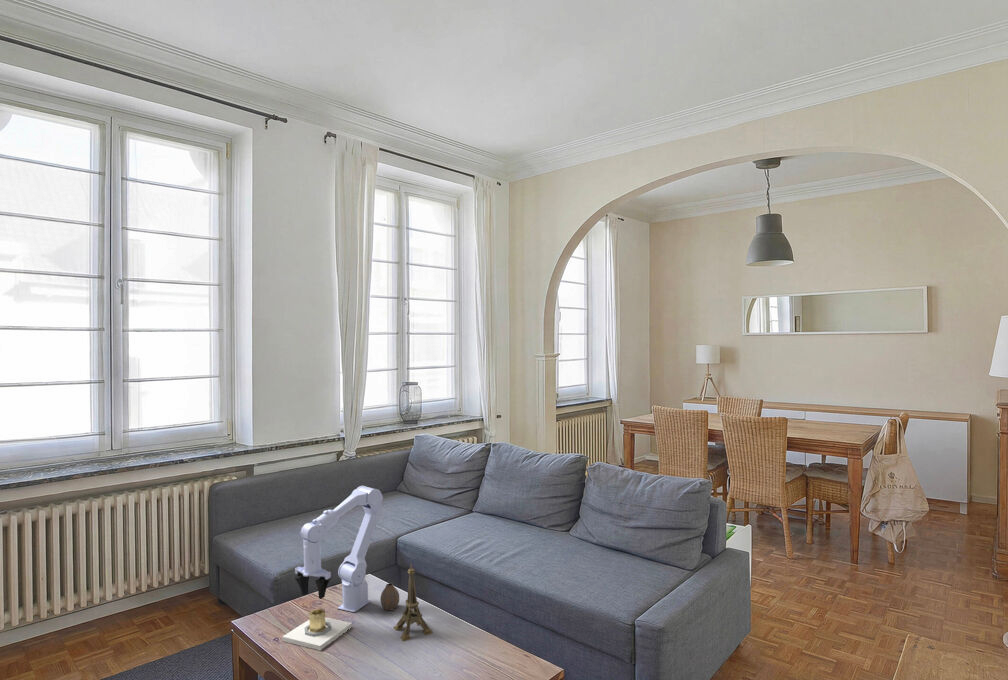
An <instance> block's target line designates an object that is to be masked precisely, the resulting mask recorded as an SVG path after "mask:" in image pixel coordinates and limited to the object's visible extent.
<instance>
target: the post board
mask: <svg viewBox="0 0 1008 680" xmlns="http://www.w3.org/2000/svg"><path fill="white" fill-rule="evenodd" d="M325 626H326V629H325V630H324V631H321V632H316V633H312V632H310V620H309V619H308V620H306V621H304V622H303V623H302V624H300V625H298V626H297V627H295V628H293V629H292V630H291V631H289V632H287V633H285V634H284V635H283V636H281V637H282V642H285V643H289V644H293V645H298V646H301V647H305V648H307V649H308V648H309V649H312V650H317V651H321V650H323V649H324V648H326V647H327V646H329V645H330V644H331V643H333V642H334V641H335V640H337V639H339V636H340V637H341V636H343V633H344V634H345V633H346V632H347V630H348V629H349V630H351V629H352V628H353V623H352V622H348V621H344V620H339V619H335V618H330V617H326V616H325ZM351 627H352V628H351ZM350 628H351V629H350ZM349 630H348V631H349ZM332 641H333V642H332Z"/></svg>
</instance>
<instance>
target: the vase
mask: <svg viewBox="0 0 1008 680" xmlns="http://www.w3.org/2000/svg"><path fill="white" fill-rule="evenodd" d="M380 594H381V595H380V605H381V607H382V608H383V609H384V610H385V611H393V609H394V610H395V609H396V608H397V607H398V606H399V604H400V593H399V590H398V589H397V588H396V587H395V586H394V584H393V583H391V582H389V583H387V584H386V585H385V587H384V588H383V590H382V592H381V593H380Z"/></svg>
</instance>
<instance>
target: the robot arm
mask: <svg viewBox="0 0 1008 680" xmlns="http://www.w3.org/2000/svg"><path fill="white" fill-rule="evenodd" d="M383 500H384V496H383V494H382V492H381V490H379V489H378V488H372V487H368V486H366V485H360V486H358V487H357V488H355V489H354V490H352V492H351V494H350V495H348V497H347V498H345V499H344V500H343V501H342V502H341V503H340V504H339V505H337V506H336V507H335V508H334V509H327V510H323V512H322V514H320V516H318V517H316V518H314V519H312V521H311V522H307V523H305V524H304V525H303V526H302V527H301V528H300V529H301V530H300V531H299V537H301V540H302V544H303V545H302V546H303V566H296V567H295V568H294V574H295V575H296V576H295V577H294V579H295V581H296V583H298V586H299V588H300V592H301V595H302V596H306V595H307V594H309V582H310V577H317V578H318V579H316V580H315V584H316V586H317V591H318V592H317V593H318V599H319V600H322V599H323V598H325V597H326V593H327V592H326V591H327V587H328V585H329V582H330V581H331V580H332V579H331V578H332V577H331V576H332V572H331V571H329V570H328V571H327V570H326V569H324V568H322V559H321V558H322V555H321V554H322V553H321V549H322V548H321V540H322V539H323V536H324V535H325V533H326V532H327V531H328V530H330V529H331V528H332V527H333V526H335V525H336V524H337V523H338V522H339V518H340V517H342V516H343V515H345V514H347V513H348V512H350V511H351V510H352V509H353V508H355V507H356V506H361V507H362V509H363V511H364V516H363V518H362V521H361V524H360V527H359V528H358V529H359V530H358V532H357V535H356V539H355V541H354V543H353V546H352V548H351V551H350V554H348V555H347V556H346V557H344V559H343V562H342V563H341V564H340V566H339V567H338V570H337V575H338V577H339V578H340V579H341V588H342V592H341V593H342V604H341V605H339V606H338V607H337V609H338V610H341V611H347V612H352V613H356V612H357V611H359V610H361V608H364V606H366V605H367V604H369V603H370V602H371V600H370V599H369V585H368V582H367V580H366V579H365V578H366V573H367V572H366V571H367V570H366V569H367V567H368V565H367V562H366V559H365V557H366V556H367V552H368V550H369V546H370V544H371V542H372V541H371V540H372V538H373V536H374V532H375V530H376V527H377V524H378V521H379V518H380V516H381V513H382V502H383Z"/></svg>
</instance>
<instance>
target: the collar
mask: <svg viewBox="0 0 1008 680" xmlns="http://www.w3.org/2000/svg"><path fill="white" fill-rule="evenodd" d="M308 615H309V616H308V617H309V618H308V620H310V632H312V633H316V632H321V631H324V630H325V629H326V626H325V617H326V610H325V609H323V608H315V609H312V610H310V611H309V614H308Z"/></svg>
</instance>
